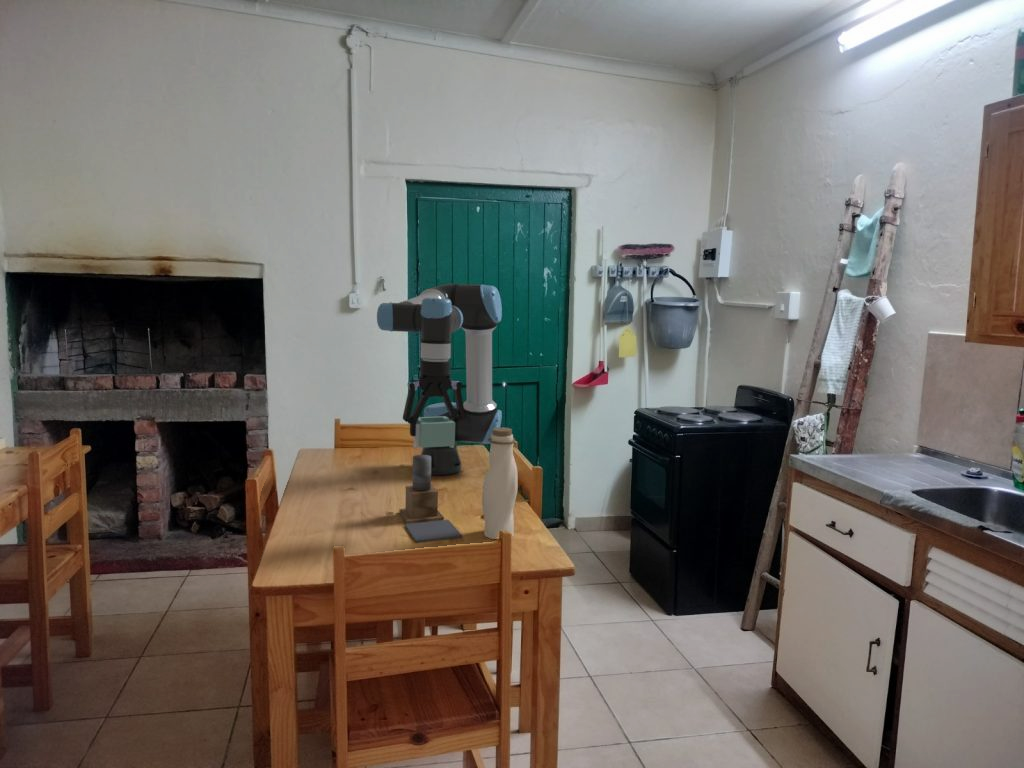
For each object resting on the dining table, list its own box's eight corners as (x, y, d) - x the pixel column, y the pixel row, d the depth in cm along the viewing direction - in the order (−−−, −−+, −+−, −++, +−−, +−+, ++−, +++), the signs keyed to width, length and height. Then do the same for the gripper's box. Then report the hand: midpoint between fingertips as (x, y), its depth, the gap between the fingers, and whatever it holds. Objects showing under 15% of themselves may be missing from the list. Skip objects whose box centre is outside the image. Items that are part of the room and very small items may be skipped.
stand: (433, 509, 195) (434, 451, 192) (443, 520, 185) (444, 460, 183) (399, 512, 191) (399, 453, 188) (407, 524, 182) (408, 463, 179)
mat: (448, 521, 185) (448, 519, 185) (461, 537, 174) (461, 535, 174) (404, 526, 180) (404, 524, 180) (416, 542, 169) (416, 540, 169)
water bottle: (480, 526, 182) (483, 424, 178) (513, 526, 183) (517, 424, 179) (481, 540, 172) (485, 432, 168) (517, 540, 173) (521, 433, 169)
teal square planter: (445, 438, 179) (445, 416, 178) (454, 445, 171) (455, 422, 171) (413, 440, 176) (413, 417, 175) (421, 447, 168) (422, 424, 167)
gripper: (470, 357, 178) (468, 441, 181) (390, 358, 170) (389, 446, 173) (480, 361, 171) (477, 448, 174) (396, 361, 163) (395, 453, 166)
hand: (433, 447), depth 174 cm, fingers closed on teal square planter, 8 cm apart
